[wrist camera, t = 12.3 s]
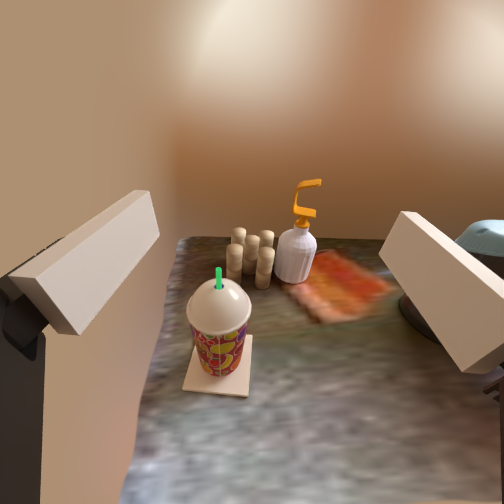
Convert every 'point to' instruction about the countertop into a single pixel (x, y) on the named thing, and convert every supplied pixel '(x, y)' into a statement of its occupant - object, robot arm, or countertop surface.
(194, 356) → the plate
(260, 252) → the spacer posts
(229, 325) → the smoothie
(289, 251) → the soap bottle
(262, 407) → the countertop surface
